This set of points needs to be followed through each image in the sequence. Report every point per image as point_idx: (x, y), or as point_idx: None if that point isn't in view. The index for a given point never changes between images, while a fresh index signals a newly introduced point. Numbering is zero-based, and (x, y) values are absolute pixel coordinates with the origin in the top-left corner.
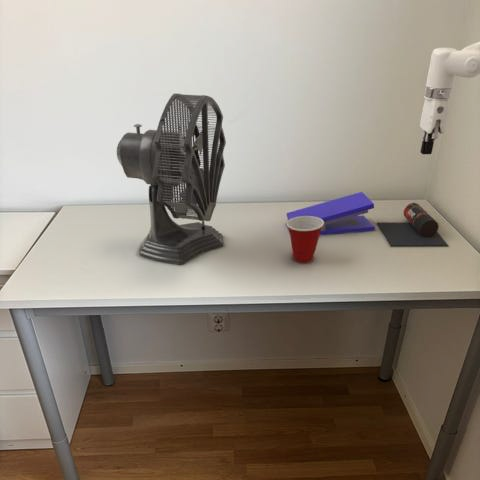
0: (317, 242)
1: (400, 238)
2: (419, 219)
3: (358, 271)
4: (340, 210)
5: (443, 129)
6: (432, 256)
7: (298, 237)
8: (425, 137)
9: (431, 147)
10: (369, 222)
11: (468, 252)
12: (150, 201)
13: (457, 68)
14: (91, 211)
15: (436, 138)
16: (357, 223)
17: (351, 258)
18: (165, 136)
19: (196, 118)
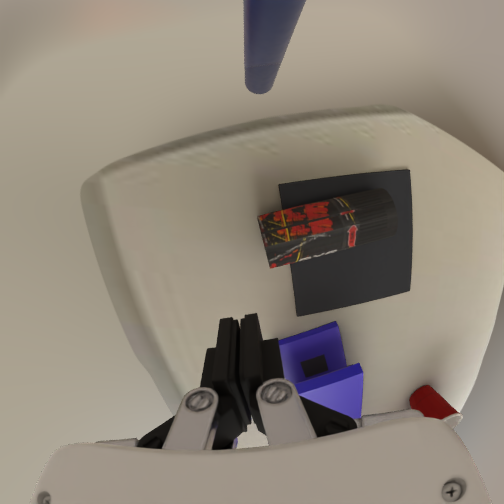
0: (436, 399)
1: (383, 271)
2: (369, 241)
3: (463, 331)
4: (351, 407)
5: (464, 451)
6: (445, 214)
7: (446, 420)
8: (233, 443)
9: (261, 349)
10: (315, 336)
11: (426, 133)
12: None
13: None
14: None
15: (412, 412)
16: (321, 356)
17: (433, 345)
18: None
19: None
